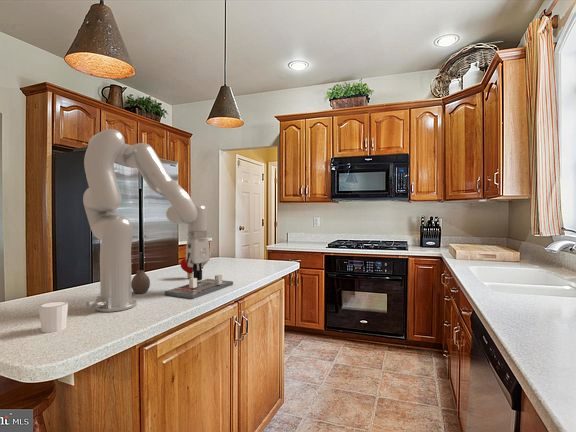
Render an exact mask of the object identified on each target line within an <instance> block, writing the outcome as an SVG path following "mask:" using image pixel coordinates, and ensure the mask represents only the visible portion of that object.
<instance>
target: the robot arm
mask: <svg viewBox="0 0 576 432" xmlns="http://www.w3.org/2000/svg"><path fill="white" fill-rule="evenodd" d="M83 158H84V159H83V160H84V161H83V164H84V165H83V166H84V172H85V175H86V176H85V177H86V181H87V185H88V187H87V188H86V190H85V191H84V193H83V198H82V199H83V200H82V202H83V206H84V210H85V214H86V217H87V221H88V224H89V227H90V230H91V232H92V234H93V236H94V237H95V238H97V239H98V240H100V241H101V242H100V248H99V249H100V250H99V268H100V269H99V274H100V275H99V277H100V278H99V280H100V281H99V284H100V285H99V290H100V291H99V292H100V295H97V298H95V299H94V300H91V301H90V300H89V301H87V302H86V303H85V304H86V308H88V309H89V308H93V307H95V308H94V309H95V311H97V312H100V313H101V312H103V313H104V312H105V313H110V312H121V311H125V310H129V309H132V308H133V307H136V306H137V303H138V302H137V300H136V299H133V298H132V296H133V294H132V291H133V290H132V283H131V282H132V242H133V237H134V227H133V224H132V222H131V221H130V219H129V218H128V217H126V216H124V215H121V214H117V212H116V210H117V209H118V208H119V207H120V206H121V204H122V202H123V201H122V198H123V197H122V194H121V191H120V186H119V183H118V180H117V175H116V171H115V164H116V165H119V166H122V167H126V168H130V169H137V171H138V172H139V174H140V175H141V177H142V178H143V180H144V181H145V183H146V184H147V186H148V188H149V189H150V190H152V191H153V192H154V193H157V194H158V195H160V196H162V197H164V198H165V199H166V200H167V201H169V203H170V204H171V205H170V206H169V207H167V210H166V213H165V217H166V218H167V220H168V221H169V222H170V223H173V224H179V225H180V224H184V225H185V224H187V240H186V246H185V258H186V262H187V263H188V267H191V268H192V270H193V277H192V278H197V280H203V270H204V266H205V265H206V264H208V262H209V261H210V260H211V251H210V242H209V238H208V231H207V230H208V220H207V219H208V218H207V217H208V212H207V206H206V205H202V204H195V203H194V201H193V200H192V198H191V196H190V195H189V194H188V192H187V191H186V190H185V189H184V188H183V187H182V186H181V185H180V184H179V183H177V182H176V180H175V179H173V178H172V176H170V174H169V173H168V170H167V169H166V168H165V166H164V164H163V162H162V161H161V159H160V157H159V156H158V154H157V152H156V151H155V149H154V148H153V147H152V146H151V145H150V144H149V143H145V142H140V143H138V142H137V143H135V144H128V143H126V142H125V137H124V135H123V134H122V133H121V132H120V131H119V130H117V129H113V128H107V129H104V130H101V131H100V132H98V133H96V134H94V135H92V136H91V137H90V138H89V140H88V144H87V148H86V151H85V154H84V157H83Z"/></svg>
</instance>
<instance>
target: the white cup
mask: <svg viewBox="0 0 576 432" xmlns="http://www.w3.org/2000/svg"><path fill="white" fill-rule="evenodd" d="M68 308H69V302H68V301H63V300H61V301H59V300H58V301H50V302H46V303H45V302H44V303H42V304H40V305H38V312H39V321H40V329H41V332H42V333H46V334H49V333H55V332H59V331H62V330H65V329H66V328H67V319H68V310H69V309H68Z"/></svg>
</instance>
